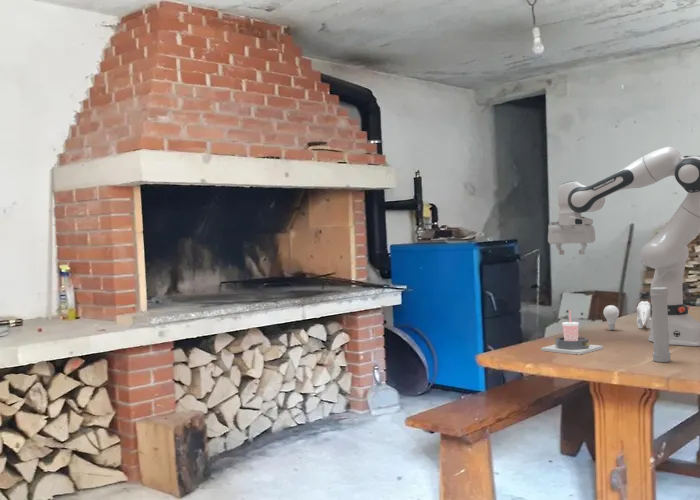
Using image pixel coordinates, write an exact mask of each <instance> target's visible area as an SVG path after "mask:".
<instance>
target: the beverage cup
mask: <svg viewBox="0 0 700 500" xmlns="http://www.w3.org/2000/svg"><path fill="white" fill-rule="evenodd" d="M571 312H572V311H571V309H568V313H569V314H568V315H569V321H563V322H561V326H562V330H563V333H562V334H563V337H564V341H578V337H579V326H580V322H579V321H572V315H571Z"/></svg>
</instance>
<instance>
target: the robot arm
mask: <svg viewBox="0 0 700 500" xmlns="http://www.w3.org/2000/svg"><path fill="white" fill-rule="evenodd" d="M672 176H673V177H674V178H675V181H676V182H677V183H678V184H679V185H680V186H681V187H682V189H684V190H685V191H686V192H687V194H686V197H684V199H683V200H682V202H681V204H680V205H679V206H678V208H677V209H676V210H675V212H674V213H673V215H672V216H671V218H670V219H669V220H668V222H666V223H665V225H664V226H663V227H662V228H661V229H660V230H659V231H658V232H657V233H656V234H655V236H653V238H651V240H649V242H647V243H646V244H645V245H643V247H642V248H641V250H640V259H641V262H642V263H643V264H644V265H645V267H648V268H651V269H655V270H654V274H653V278H652V280H651V283H650V289H651V288H654V287H666V288H667V289H668V296H667V308H668V333H669V345H671V346H672V345H673V346H690V347H700V321H698V320H697V319H696V318H694V317H693V316H692V315H690V314H689V310H690V309H691V308H690V305H686V304H685V303H684V301H683V300H684V297H683V293H684V292H683V281H684V275H685V269H686V263H687V260H688V258H689V254H690V250H689V248H688V247H689V246H688V245H689V244H690V243H691V242H693V240H695V239H696V238H697V237H698V235H699V234H700V155H682V154H681V153H680V152H679V150H678V149H676V148H675V147H672V146H664V147H661V148H658V149H656V150H654V151H651V152H649V153H647V154H644V155H643V156H641V157H640V158H637V159H636V160H634V161H633V162H631V163H630V164H628V165H626V166H625V167H623V168H622V169H621V170H618V171H617V172H616V173H613V174H611V175H609V176H607V177H606V178H604V179H601V180H599V181H597V182H596V183H593V184H591V185H588V186H587V185H584V184H582V183H580V182H579V181H577V180H571V181H566V182H563V183H562V184H560V185H559V187H558V192H557V193H558V194H557V200H558V201H557V204H558V206H559V207H558V208H559V210H558V221H552V222H550V223H549V224H548V233H547V242H548V244H550V245H555V247H556V248H557V251H558V255H559V256H560V255H563V256H564V255H565V250H563V249H562V245H563V244H565V245H566V244H580V246H581V249H579V250H578V255H585V254H586V253H585V250H586V248H587V246H588V244H593V243H595V241H596V231H595V230H596V229H595V227H594V225H593V224H594V220H593V219H592V218H589V217H587V216H583V215H582V213H593V212H597V211H599V210H600V209H602V208H603V206H604V205H605V201H606V197H607V196H610V195H612V194H614V193H616V192H618V191H622V190H623V191H624V190H629V189H641V188H645V187H648V186H650V185H654V184H656V183H658V182H660V181H661V180H664V179H666V178H668V177H672ZM667 270H668V271H667ZM666 271H667V272H666ZM665 272H666V273H665ZM664 273H665V274H664ZM663 274H664V275H663ZM662 275H663V276H662ZM661 277H662V278H661ZM660 278H661V280H660ZM659 281H660V284H659ZM650 314H651V328H649V336H648V338H647V340H648V341H649V342H651V343H652V342H653V322H652V297H651V296H650Z"/></svg>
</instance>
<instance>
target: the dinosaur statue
mask: <svg viewBox="0 0 700 500" xmlns="http://www.w3.org/2000/svg"><path fill="white" fill-rule="evenodd" d="M650 304H651V302H649V301H648V300H646V301H643V300H641V301H640V302H639V303H637V307H636V316H637V317H636V326H637V327H638V329H643V328H644V326H645V327H646V329H649V330H650V329H651V314H650Z"/></svg>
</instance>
